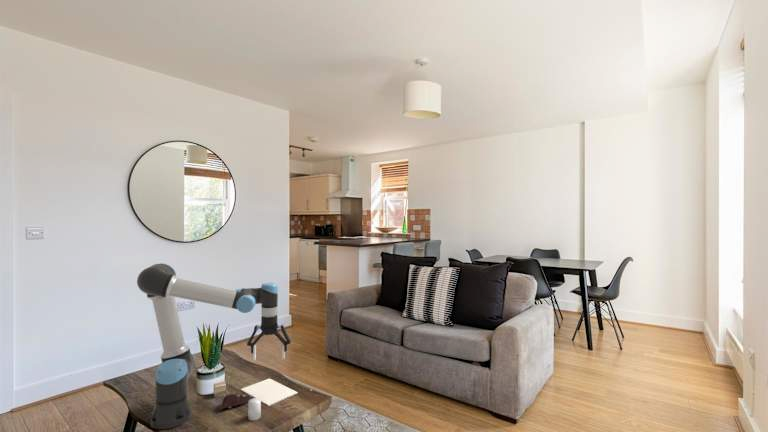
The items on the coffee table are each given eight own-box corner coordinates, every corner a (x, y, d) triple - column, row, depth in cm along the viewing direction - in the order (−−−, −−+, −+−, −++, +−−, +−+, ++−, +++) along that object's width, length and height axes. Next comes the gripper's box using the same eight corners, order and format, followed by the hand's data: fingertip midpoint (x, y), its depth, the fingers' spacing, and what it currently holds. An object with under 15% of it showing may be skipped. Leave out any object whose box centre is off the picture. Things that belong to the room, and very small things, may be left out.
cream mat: (297, 393, 182) (297, 392, 182) (268, 406, 169) (268, 405, 169) (269, 379, 197) (269, 378, 197) (240, 390, 185) (240, 389, 185)
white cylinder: (258, 420, 158) (258, 404, 157) (246, 420, 158) (246, 403, 158) (262, 414, 163) (262, 398, 162) (251, 413, 163) (251, 397, 163)
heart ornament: (219, 415, 166) (225, 393, 175) (247, 416, 168) (252, 394, 178) (219, 406, 163) (225, 384, 172) (248, 407, 165) (252, 385, 174)
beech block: (225, 395, 180) (226, 385, 180) (214, 397, 177) (214, 387, 177) (224, 391, 184) (224, 381, 184) (213, 393, 182) (213, 383, 182)
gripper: (296, 312, 189) (295, 354, 189) (244, 314, 185) (243, 357, 185) (295, 316, 181) (294, 360, 181) (240, 318, 177) (240, 363, 177)
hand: (269, 359), depth 183 cm, fingers open, 13 cm apart
